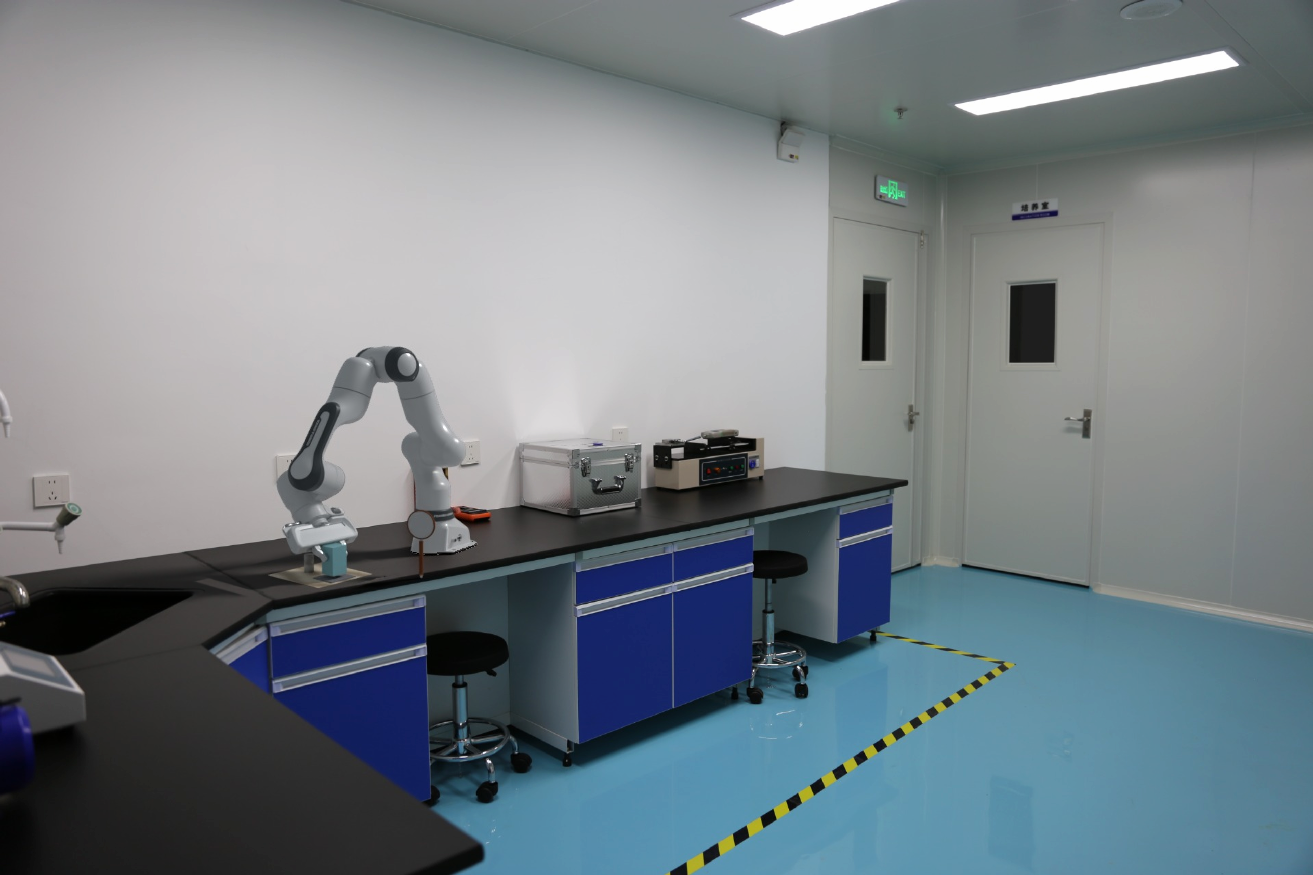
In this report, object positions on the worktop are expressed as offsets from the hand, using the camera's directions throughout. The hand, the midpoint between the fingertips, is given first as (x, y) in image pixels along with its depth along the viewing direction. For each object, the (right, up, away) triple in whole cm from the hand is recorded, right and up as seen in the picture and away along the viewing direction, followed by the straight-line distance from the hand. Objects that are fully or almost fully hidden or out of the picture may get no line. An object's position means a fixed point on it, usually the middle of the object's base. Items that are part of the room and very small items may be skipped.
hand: (335, 558), depth 235 cm
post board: (-6, -7, +4) cm, 10 cm away
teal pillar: (-1, -4, +1) cm, 4 cm away
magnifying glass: (+21, -7, +9) cm, 24 cm away
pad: (-1, -6, +1) cm, 6 cm away
